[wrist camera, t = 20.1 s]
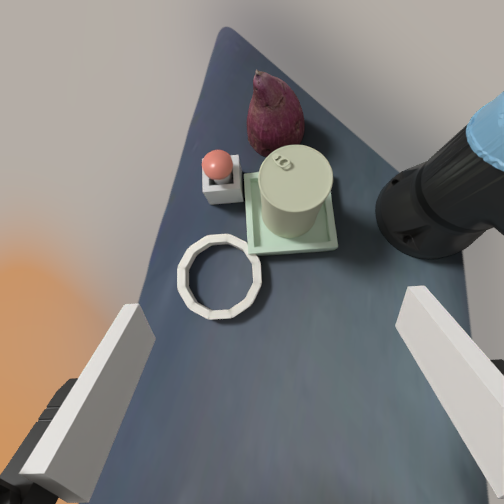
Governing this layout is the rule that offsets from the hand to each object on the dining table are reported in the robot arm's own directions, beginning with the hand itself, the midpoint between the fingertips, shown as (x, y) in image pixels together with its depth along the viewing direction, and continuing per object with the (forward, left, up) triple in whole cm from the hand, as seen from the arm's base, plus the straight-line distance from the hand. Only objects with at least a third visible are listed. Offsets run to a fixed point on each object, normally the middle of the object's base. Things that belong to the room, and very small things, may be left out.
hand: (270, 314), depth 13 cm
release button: (+6, -22, -26) cm, 35 cm away
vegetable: (-3, -32, -28) cm, 42 cm away
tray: (-4, -16, -28) cm, 32 cm away
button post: (+6, -22, -28) cm, 36 cm away
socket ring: (+8, -6, -28) cm, 29 cm away
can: (-4, -16, -27) cm, 31 cm away
